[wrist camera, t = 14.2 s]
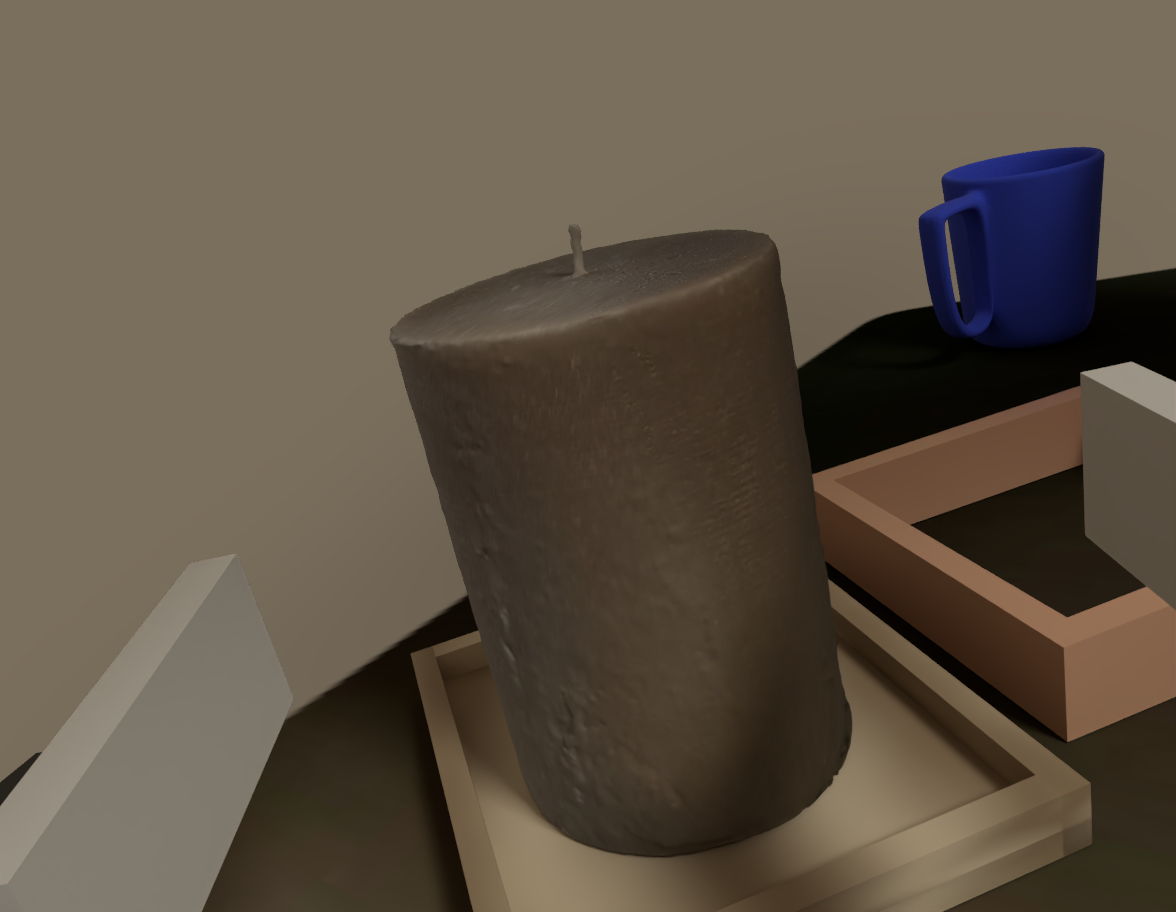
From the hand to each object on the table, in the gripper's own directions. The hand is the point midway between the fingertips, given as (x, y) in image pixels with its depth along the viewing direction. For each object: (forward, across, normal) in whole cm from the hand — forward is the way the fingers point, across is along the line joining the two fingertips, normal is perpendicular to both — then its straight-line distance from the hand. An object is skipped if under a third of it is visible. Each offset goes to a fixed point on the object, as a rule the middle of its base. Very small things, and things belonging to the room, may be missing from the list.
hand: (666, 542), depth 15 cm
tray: (+10, 0, -12) cm, 16 cm away
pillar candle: (+10, -1, -11) cm, 15 cm away
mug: (+40, +22, -12) cm, 47 cm away
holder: (+16, +14, -12) cm, 25 cm away
